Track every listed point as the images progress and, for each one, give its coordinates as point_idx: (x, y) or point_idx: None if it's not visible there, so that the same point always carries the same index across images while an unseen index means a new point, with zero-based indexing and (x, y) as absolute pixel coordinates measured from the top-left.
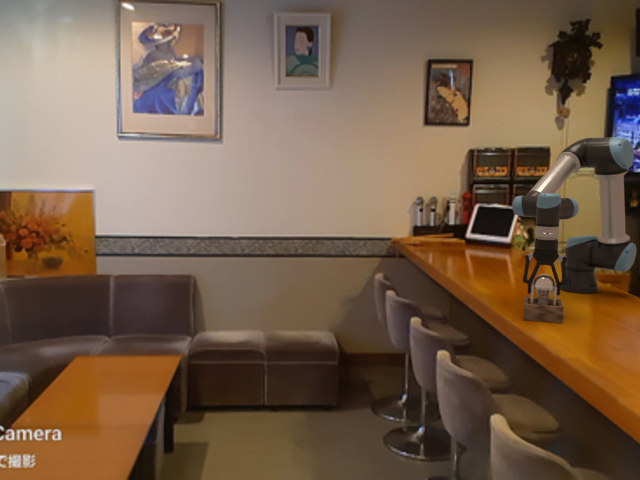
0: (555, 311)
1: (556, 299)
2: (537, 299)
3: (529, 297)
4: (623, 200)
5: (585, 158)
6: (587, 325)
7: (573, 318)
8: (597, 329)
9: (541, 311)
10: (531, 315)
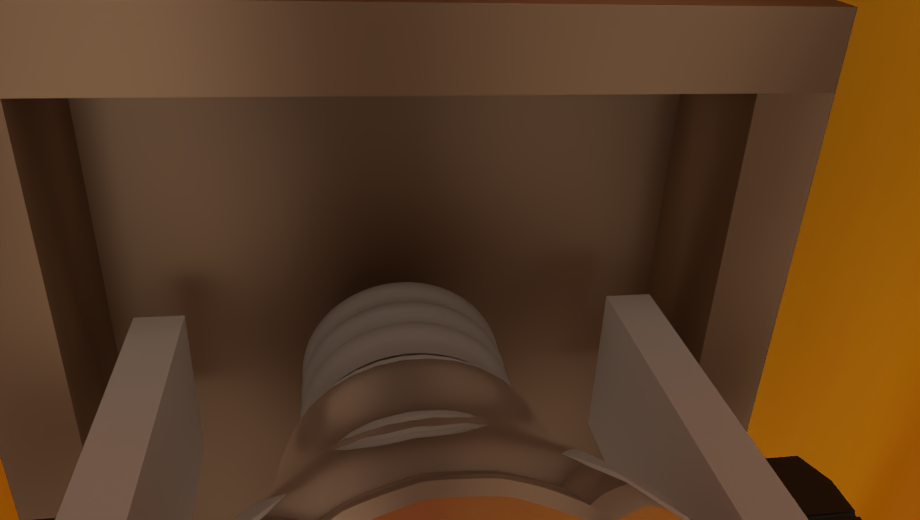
0: None
1: (751, 56)
2: (285, 87)
3: (51, 42)
4: None
5: None
6: (876, 418)
7: (833, 148)
8: (912, 516)
9: None
10: None
